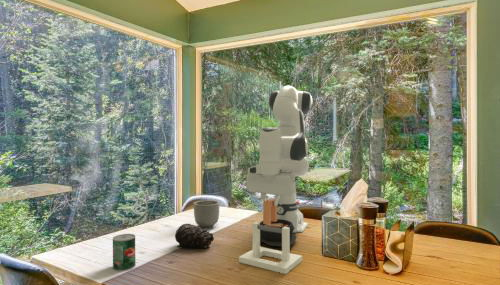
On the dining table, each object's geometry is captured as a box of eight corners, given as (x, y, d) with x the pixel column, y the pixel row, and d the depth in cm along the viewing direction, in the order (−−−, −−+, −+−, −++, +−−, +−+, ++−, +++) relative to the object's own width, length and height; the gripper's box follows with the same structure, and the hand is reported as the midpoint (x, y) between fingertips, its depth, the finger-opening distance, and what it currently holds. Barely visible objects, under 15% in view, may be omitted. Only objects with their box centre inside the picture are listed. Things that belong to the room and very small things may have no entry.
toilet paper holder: (239, 262, 120) (238, 225, 120) (258, 250, 132) (257, 217, 132) (286, 274, 109) (285, 234, 109) (302, 260, 121) (302, 224, 121)
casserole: (252, 233, 156) (252, 216, 156) (289, 232, 158) (288, 215, 158) (260, 251, 131) (260, 231, 131) (303, 249, 134) (303, 229, 133)
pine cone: (211, 251, 131) (211, 228, 131) (171, 249, 134) (171, 226, 134) (218, 243, 142) (218, 221, 142) (180, 241, 144) (180, 220, 144)
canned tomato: (134, 269, 114) (134, 239, 114) (111, 272, 112) (111, 241, 112) (136, 261, 122) (136, 233, 121) (114, 263, 119) (114, 234, 119)
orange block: (271, 220, 124) (271, 198, 123) (277, 220, 122) (277, 199, 122) (263, 223, 118) (263, 201, 118) (269, 224, 117) (269, 202, 117)
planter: (224, 225, 170) (224, 201, 170) (208, 232, 159) (208, 206, 158) (205, 221, 178) (205, 199, 177) (188, 227, 166) (187, 203, 166)
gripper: (298, 169, 117) (298, 206, 117) (252, 167, 128) (252, 200, 128) (291, 171, 112) (291, 210, 112) (244, 168, 123) (244, 203, 123)
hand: (270, 205), depth 120 cm, fingers closed on orange block, 2 cm apart
